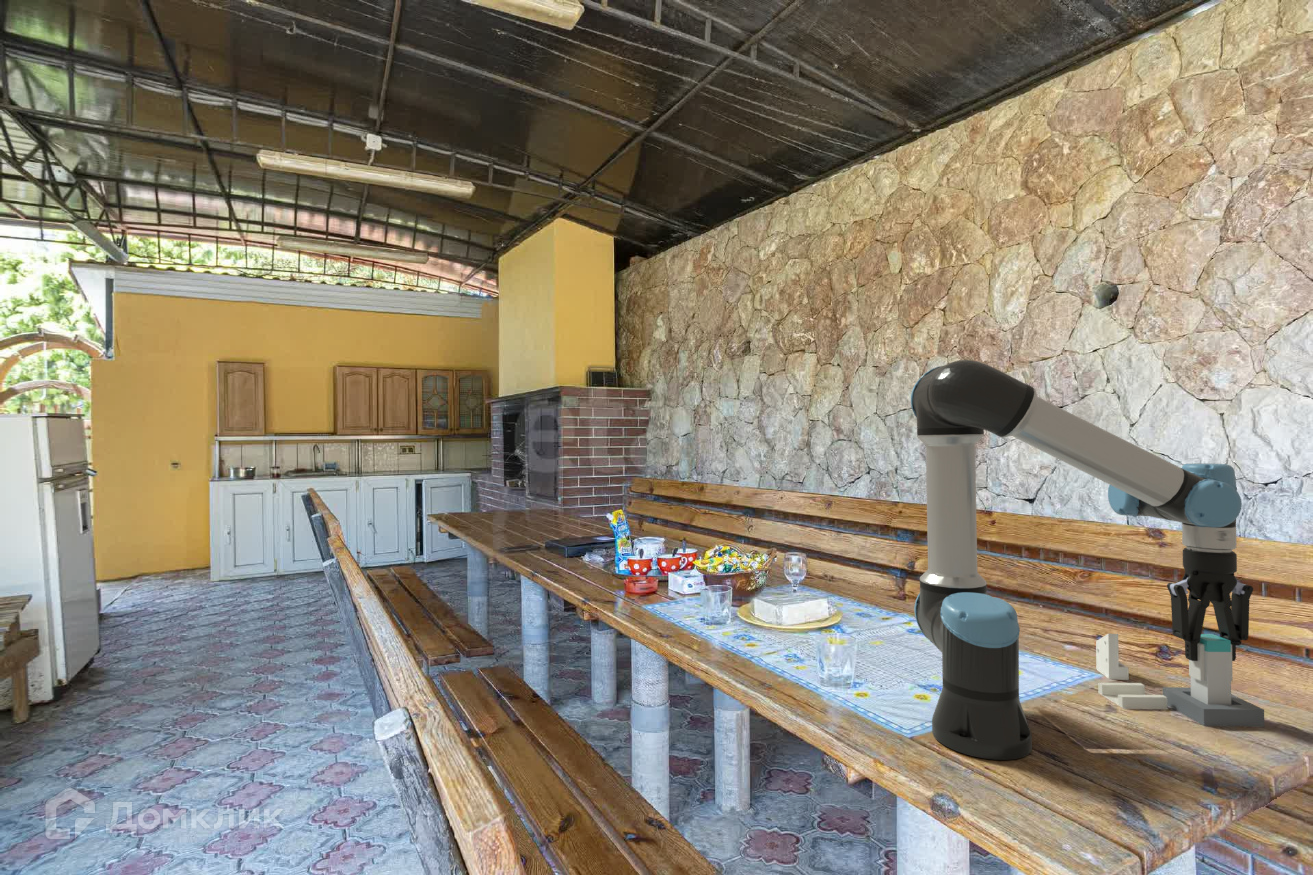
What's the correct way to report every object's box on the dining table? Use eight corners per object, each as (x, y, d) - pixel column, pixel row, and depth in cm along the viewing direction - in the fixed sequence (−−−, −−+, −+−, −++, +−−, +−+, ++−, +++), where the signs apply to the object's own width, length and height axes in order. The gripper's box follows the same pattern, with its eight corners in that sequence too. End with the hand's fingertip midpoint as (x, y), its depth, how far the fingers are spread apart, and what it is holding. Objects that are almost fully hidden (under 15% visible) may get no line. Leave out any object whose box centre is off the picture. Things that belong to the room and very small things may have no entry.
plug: (1208, 719, 117) (1207, 640, 117) (1191, 710, 121) (1190, 633, 121) (1231, 719, 117) (1230, 640, 117) (1213, 710, 121) (1212, 633, 121)
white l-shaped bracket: (1119, 677, 132) (1108, 633, 137) (1099, 686, 141) (1090, 644, 145) (1139, 678, 132) (1128, 634, 136) (1118, 687, 140) (1108, 645, 144)
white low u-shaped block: (1123, 711, 122) (1123, 697, 122) (1097, 695, 130) (1097, 681, 130) (1168, 712, 121) (1168, 698, 121) (1139, 695, 129) (1139, 682, 129)
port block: (1203, 729, 114) (1203, 709, 114) (1161, 705, 124) (1160, 686, 124) (1266, 730, 114) (1266, 709, 114) (1218, 705, 124) (1218, 687, 124)
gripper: (1175, 552, 116) (1176, 685, 116) (1277, 552, 115) (1278, 686, 115) (1145, 545, 123) (1147, 670, 123) (1241, 545, 122) (1242, 671, 122)
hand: (1210, 677), depth 119 cm, fingers closed on plug, 4 cm apart
